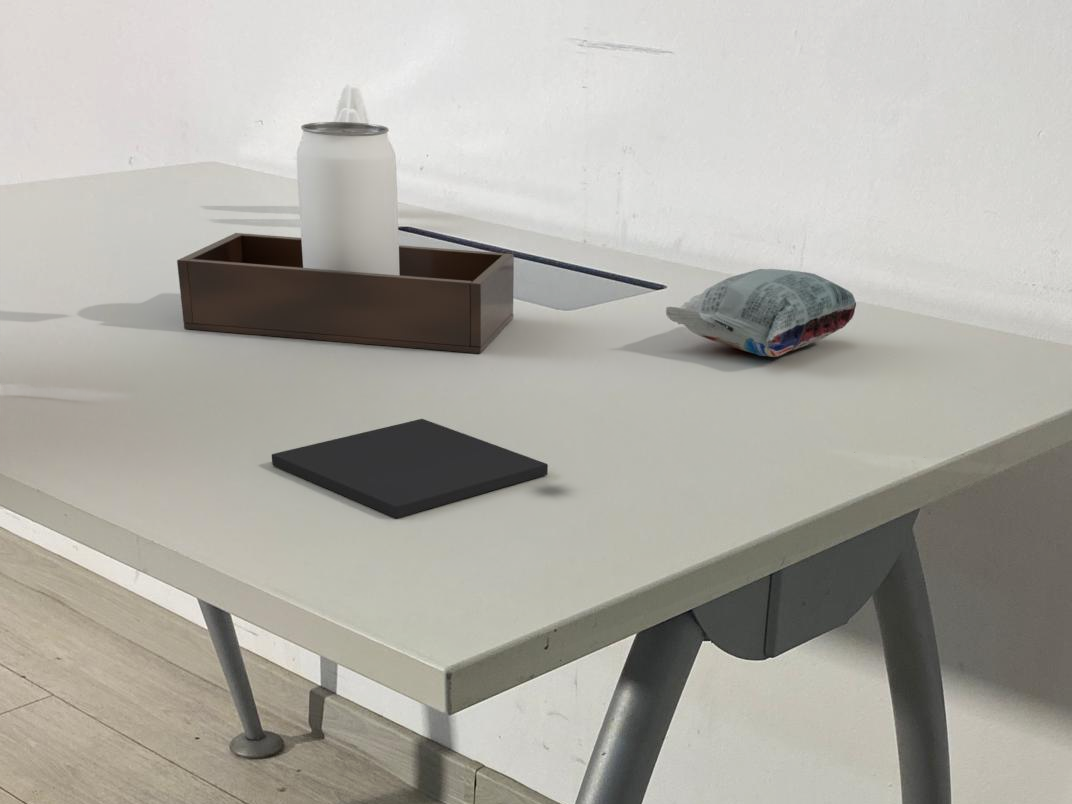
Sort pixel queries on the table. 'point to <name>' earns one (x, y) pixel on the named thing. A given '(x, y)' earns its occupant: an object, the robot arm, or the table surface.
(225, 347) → the table surface
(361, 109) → the white ridged upright piece
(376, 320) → the brown wooden box
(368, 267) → the can
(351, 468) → the mat
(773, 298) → the packaged food
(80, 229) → the table surface
